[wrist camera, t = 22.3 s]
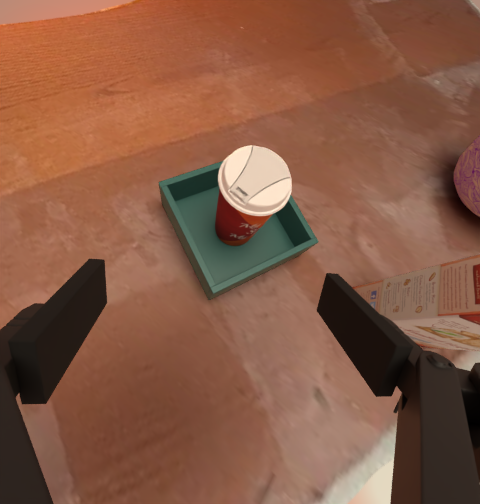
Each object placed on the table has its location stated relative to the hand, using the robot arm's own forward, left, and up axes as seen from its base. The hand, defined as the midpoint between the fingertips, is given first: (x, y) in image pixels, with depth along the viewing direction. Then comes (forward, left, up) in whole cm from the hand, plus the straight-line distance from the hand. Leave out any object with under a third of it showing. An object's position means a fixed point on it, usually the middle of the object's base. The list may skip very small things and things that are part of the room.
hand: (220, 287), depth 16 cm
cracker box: (+14, +25, -21) cm, 35 cm away
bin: (-9, +10, -21) cm, 25 cm away
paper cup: (-9, +10, -20) cm, 24 cm away
